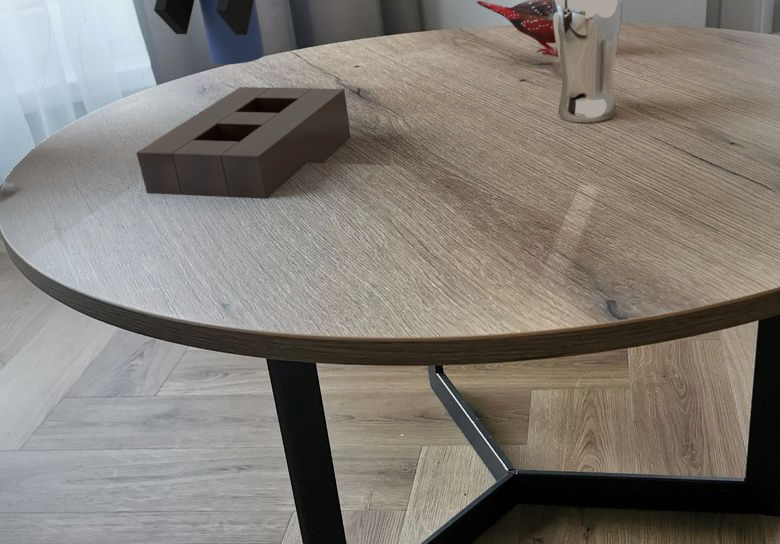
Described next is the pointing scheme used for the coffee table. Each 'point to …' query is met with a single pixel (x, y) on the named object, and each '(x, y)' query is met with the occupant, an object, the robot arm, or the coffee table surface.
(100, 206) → the coffee table surface
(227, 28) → the blue peg
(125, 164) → the coffee table surface
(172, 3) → the robot arm
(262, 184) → the peg rack
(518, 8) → the decorative bird figurine
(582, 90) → the beer glass
